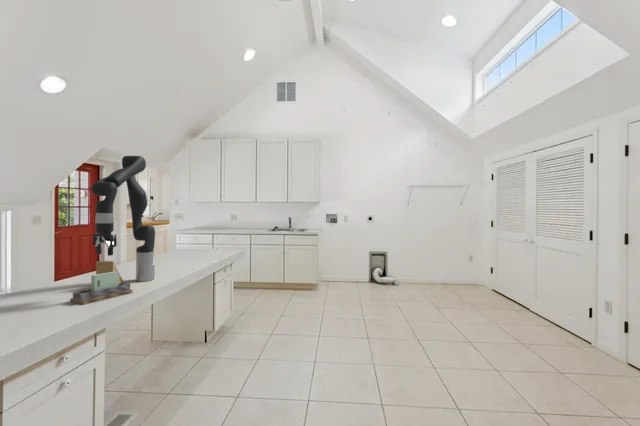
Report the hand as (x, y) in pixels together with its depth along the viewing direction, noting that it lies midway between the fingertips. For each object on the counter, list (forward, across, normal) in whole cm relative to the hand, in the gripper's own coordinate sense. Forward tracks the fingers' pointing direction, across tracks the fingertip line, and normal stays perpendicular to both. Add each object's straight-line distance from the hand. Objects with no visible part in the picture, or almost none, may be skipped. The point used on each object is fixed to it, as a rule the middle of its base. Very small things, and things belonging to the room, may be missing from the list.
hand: (104, 254), depth 165 cm
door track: (+20, -1, +2) cm, 21 cm away
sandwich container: (+21, +19, -17) cm, 33 cm away
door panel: (+19, -1, 0) cm, 19 cm away
